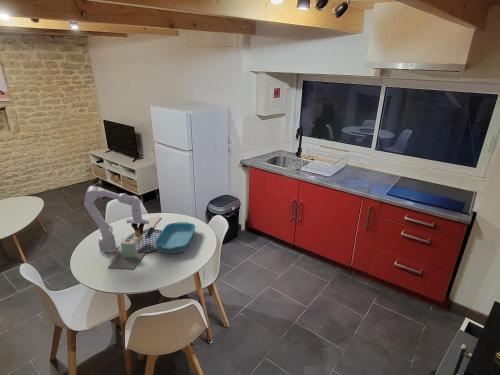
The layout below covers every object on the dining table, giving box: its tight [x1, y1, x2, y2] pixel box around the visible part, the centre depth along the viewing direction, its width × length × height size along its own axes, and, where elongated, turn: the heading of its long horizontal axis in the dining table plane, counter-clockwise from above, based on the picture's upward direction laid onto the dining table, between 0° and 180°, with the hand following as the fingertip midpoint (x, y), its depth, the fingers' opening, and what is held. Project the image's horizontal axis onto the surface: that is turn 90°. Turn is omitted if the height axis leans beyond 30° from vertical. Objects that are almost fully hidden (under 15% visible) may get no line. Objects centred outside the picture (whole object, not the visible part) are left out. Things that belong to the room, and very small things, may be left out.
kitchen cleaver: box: [145, 216, 162, 237], centre depth 235 cm, size 31×2×10 cm
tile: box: [120, 241, 137, 258], centre depth 196 cm, size 8×2×10 cm, turn 84°
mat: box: [107, 250, 146, 271], centre depth 195 cm, size 16×18×1 cm
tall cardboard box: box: [129, 226, 145, 244], centre depth 208 cm, size 12×6×5 cm, turn 174°
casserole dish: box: [154, 221, 196, 254], centre depth 214 cm, size 37×22×7 cm, turn 176°
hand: (139, 232), depth 211 cm, fingers closed on tall cardboard box, 3 cm apart
